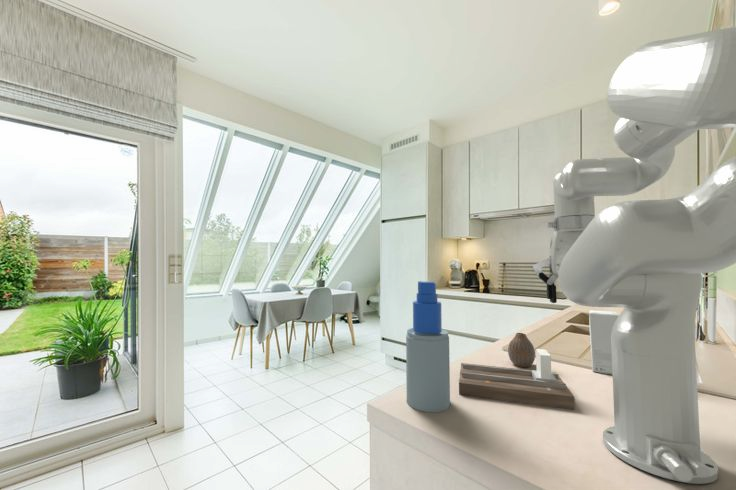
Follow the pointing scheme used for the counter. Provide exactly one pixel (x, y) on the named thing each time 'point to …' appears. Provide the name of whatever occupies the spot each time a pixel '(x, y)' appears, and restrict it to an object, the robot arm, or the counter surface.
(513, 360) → the vase
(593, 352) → the skincare box
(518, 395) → the fader console
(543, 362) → the fader slider
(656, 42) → the robot arm
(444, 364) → the spray bottle
